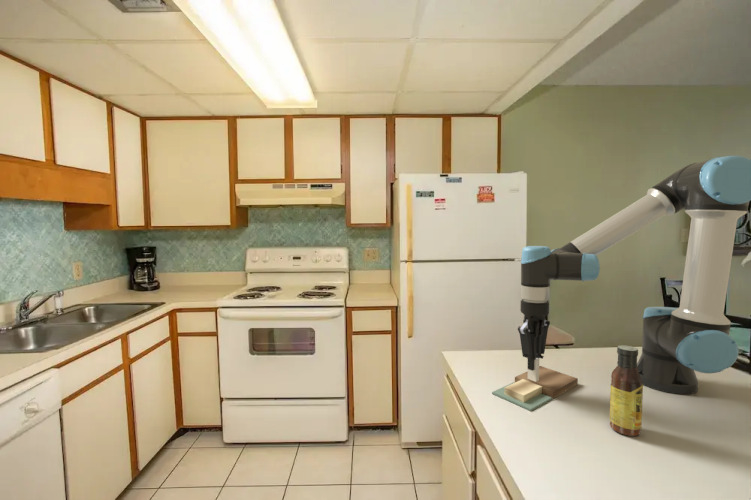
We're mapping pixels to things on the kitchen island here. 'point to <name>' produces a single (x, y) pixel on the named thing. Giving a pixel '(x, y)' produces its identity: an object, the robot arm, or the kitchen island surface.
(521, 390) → the maple tile
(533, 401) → the rubber mat
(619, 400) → the sauce bottle
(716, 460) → the kitchen island surface
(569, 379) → the walnut deck
